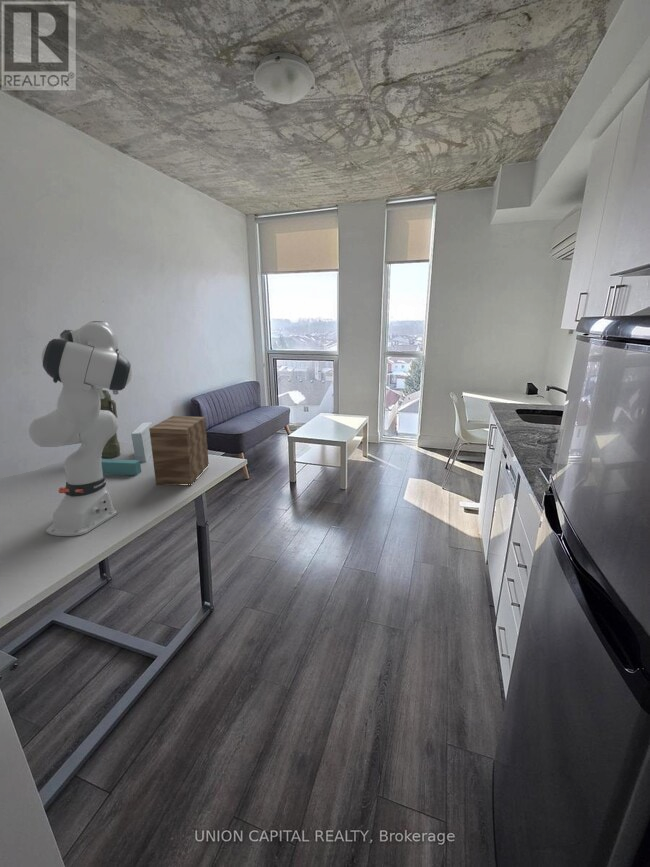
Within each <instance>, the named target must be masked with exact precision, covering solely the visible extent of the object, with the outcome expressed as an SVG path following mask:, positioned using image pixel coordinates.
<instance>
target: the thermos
mask: <svg viewBox="0 0 650 867" xmlns="http://www.w3.org/2000/svg"><path fill="white" fill-rule="evenodd" d="M102 392H103V394H105V398H104V399H100V400H101V408H100V410H108V411H110V412H112V413H113V414H114V415H115V416H116V418H117V419H118V414H117V411H118V410H117V404H116V402H115V401H114V400H113V399H112V397H111V394H110V392H109V391H108V390H104V389H103V390H102ZM119 456H121V446H120V442H119V439H118V432H116V433H115V435H114V436H112V437H111V438H110V439H109V440H108V442H107V443H106V444H105V446H104V448H103V451H102V455H101V458H102V459H115V458H117V457H118V458H119Z"/></svg>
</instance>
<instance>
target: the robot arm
mask: <svg viewBox="0 0 650 867" xmlns="http://www.w3.org/2000/svg"><path fill="white" fill-rule="evenodd" d="M118 346H119V340H118V337H117V334H116V332H115V331H114V330H113V329H112V328H111V325H110V324H109V323H108V322H106V321H102V320H95V321H89V322H87V323H86V324H84V325H82V326H81V327H80V328H77V329H75V330H74V329H64V330H63V331H62V332H61V333H60V334H59V338H53V339H51V340H49V341H48V343H47V344H46V345H45V346H44V348H43V349H42V352H41V362H42V368H43V369H44V371H45V372H46V374H47V375H48V376H50V378H52V382H53V383H54V384H57V383H58V382H60V383H62V388H61V391H60V393H59V396H58V399H57V404H56V406H57V407H56V408H55V410H53V411H52V412H51V411H50V413H48V414H45V415H43V416H41V417H37V418H34V419H33V420H31V421H32V422H30V425H29V428H28V435H29V437H30V439H31V441H32V442H33V443H34V444H35V445H36V446H38V447H40V448H58V447H65V446H70V445H72V446H73V445H77V444H80V446H79V447H78V448H77V450H76V451H74V452H72V453H71V454H69V455H68V456H67V457H66V458H65V459H64V461H63V468H64V473H65V477H66V482H65V487H59V488H58V493H59V494H64V496H63V498H62V499H61V501H60V503H59V504H58V506H57V507H56V509H55V511H54V512H53V516H52V517H53V520H52V521H53V522H52V524H51V525H49V527H47V529H46V534H48V535H50V536H57V537H58V536H59V537H77V536H81V535H85V534H87V533H90V531H92V530H94V529H96V528H97V527H99V526H100V525H101V524H103V523H105V522H106V521H108V520H110V519H112V518H113V517H114V516H116V515H117V514H118V511H117V510H116V509H115V508H114V504H113V501H112V498H111V495H110V493H109V491H108V489H107V487H106V486H107V480H106V479H107V478H106V477H105V474H103V472H102V463H101V459H102V451H103V448H104V446H105V444H106V443H107V442H108V440H109V439H110V438H111V437H112V436H114V435H115V433H118V428H119V420H118V417H117V418H116V416H115V415H114V414H113V413H112V412H110V411H108V410H100V408H101V400H100V399H104V398H105V394H103V392H102V390H104V389H108V390H109V391H112V394H113V395H115V396H116V395H120V391H123V390H124V389H125V388H126V387H127V386H128V384H129V383H130V382H131V380H132V374H133V373H132V367H131V366H132V365H131V363H130V361H129V360H128V358H127V357H125V356H124V355H123V352H122V351H120V350H119V347H118ZM118 351H119V352H118Z"/></svg>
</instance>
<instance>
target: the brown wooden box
mask: <svg viewBox="0 0 650 867" xmlns="http://www.w3.org/2000/svg"><path fill="white" fill-rule="evenodd" d="M206 426H207V424H206V417H205V416H189V415H188V416H184V415H171V416H170V417H168V418H166V419H164V420H162V421H160V422H159V423H157V424H155V425H153V427H151V428H149V431H150V439H151V447H152V455H151V456H152V462H153V469H154V470H153V472H154V478H155V485H158V484H188V485H189V484H190V485H191V484H192V483H193V482H194V481H195V480H196V478H197V477H198V476H199V475H200V474H201V473H202V472H203V470H204V469H205V468H206V467H207V466H208V464H209V465H210V462H209V451H208V449H209V448H208V438H207V427H206ZM196 481H197V480H196Z"/></svg>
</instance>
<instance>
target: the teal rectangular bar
mask: <svg viewBox="0 0 650 867" xmlns="http://www.w3.org/2000/svg"><path fill="white" fill-rule="evenodd" d="M101 463H102V472H103V475H118V476H120V475H121V476H122V475H123V476H138V475H139V474H141V473H142V467H141V462H140V460H136V459H115V458H101Z"/></svg>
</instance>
